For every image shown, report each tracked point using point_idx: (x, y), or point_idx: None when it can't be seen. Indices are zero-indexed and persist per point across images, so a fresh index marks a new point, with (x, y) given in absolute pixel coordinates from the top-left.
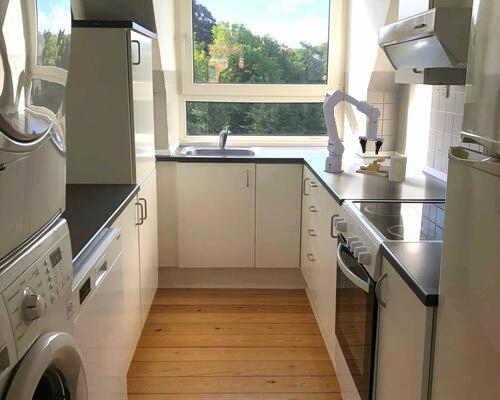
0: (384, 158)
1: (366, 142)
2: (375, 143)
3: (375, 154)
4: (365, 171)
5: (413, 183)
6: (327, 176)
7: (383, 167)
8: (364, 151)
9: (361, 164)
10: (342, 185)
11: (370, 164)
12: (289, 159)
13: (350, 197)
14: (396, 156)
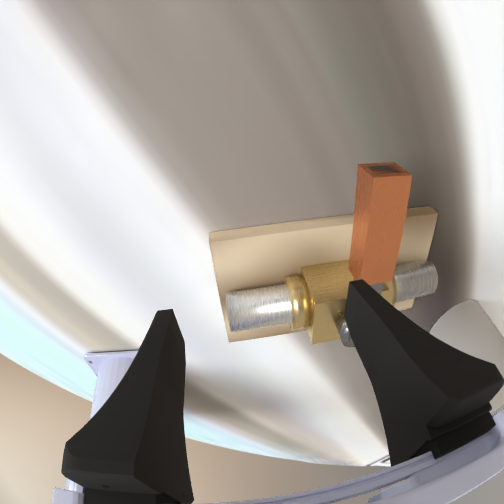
0: (407, 186)
1: (144, 438)
2: (392, 455)
3: (347, 316)
4: (295, 331)
5: (496, 317)
6: (218, 435)
7: (408, 298)
8: (178, 345)
9: (234, 329)
10: (325, 449)
11: (324, 340)
12: None
13: (373, 459)
14: (495, 401)
